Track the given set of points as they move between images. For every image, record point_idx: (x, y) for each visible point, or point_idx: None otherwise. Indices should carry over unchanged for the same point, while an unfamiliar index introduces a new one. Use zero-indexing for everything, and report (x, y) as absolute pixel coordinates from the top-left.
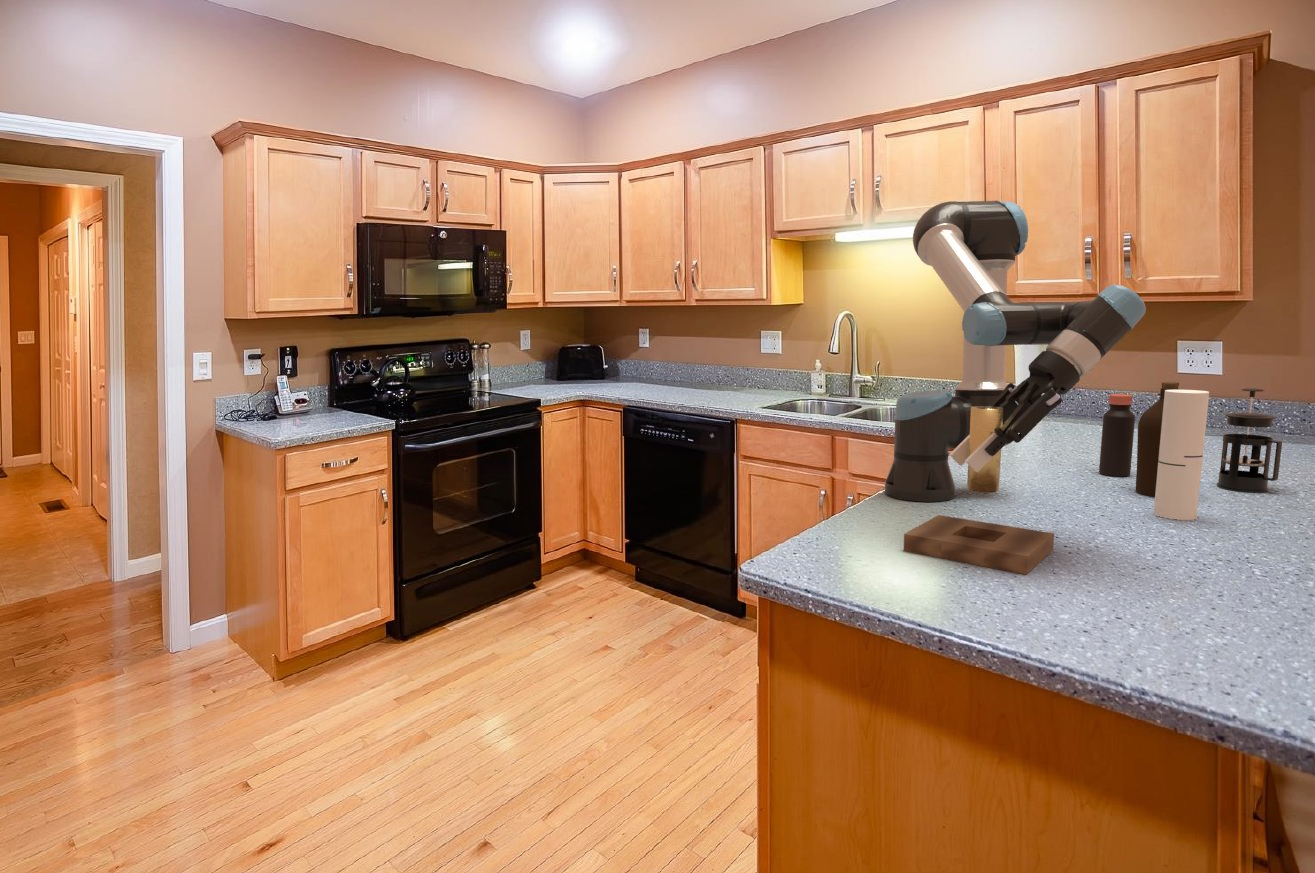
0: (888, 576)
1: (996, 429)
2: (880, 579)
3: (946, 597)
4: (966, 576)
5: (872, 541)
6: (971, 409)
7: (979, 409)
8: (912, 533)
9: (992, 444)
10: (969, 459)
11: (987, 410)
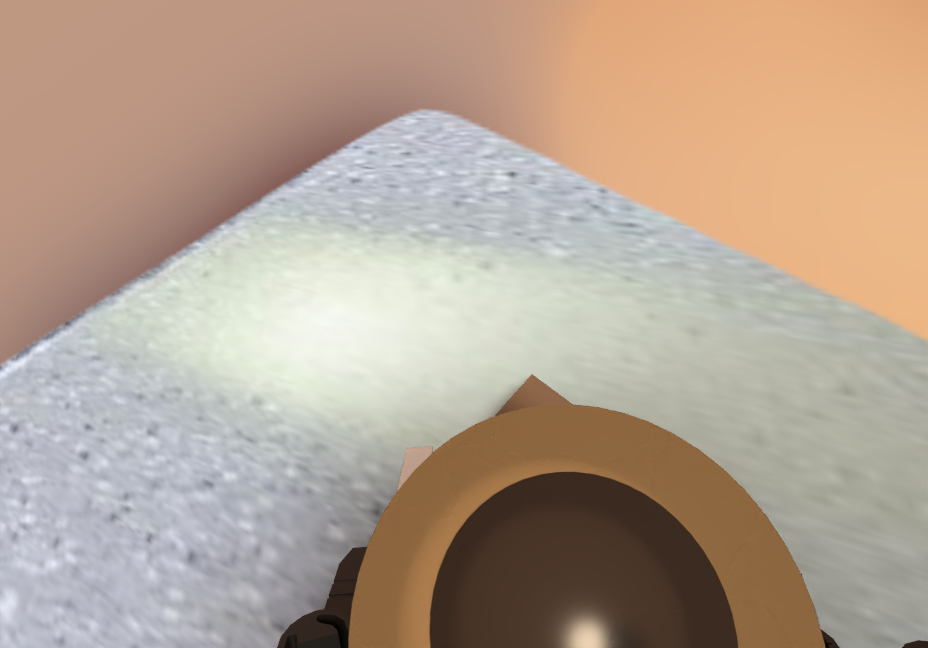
0: (343, 310)
1: (321, 626)
2: (328, 291)
3: (197, 385)
4: (309, 483)
5: (614, 339)
6: (583, 413)
7: (440, 448)
8: (537, 398)
9: (348, 590)
10: (405, 460)
11: (378, 533)
